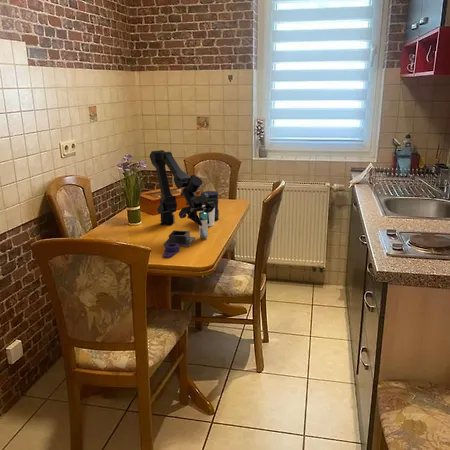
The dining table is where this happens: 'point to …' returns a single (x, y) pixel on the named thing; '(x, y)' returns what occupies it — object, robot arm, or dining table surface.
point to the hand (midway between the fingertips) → (205, 224)
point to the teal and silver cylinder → (203, 225)
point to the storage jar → (213, 198)
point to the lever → (170, 250)
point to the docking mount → (180, 238)
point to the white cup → (211, 217)
